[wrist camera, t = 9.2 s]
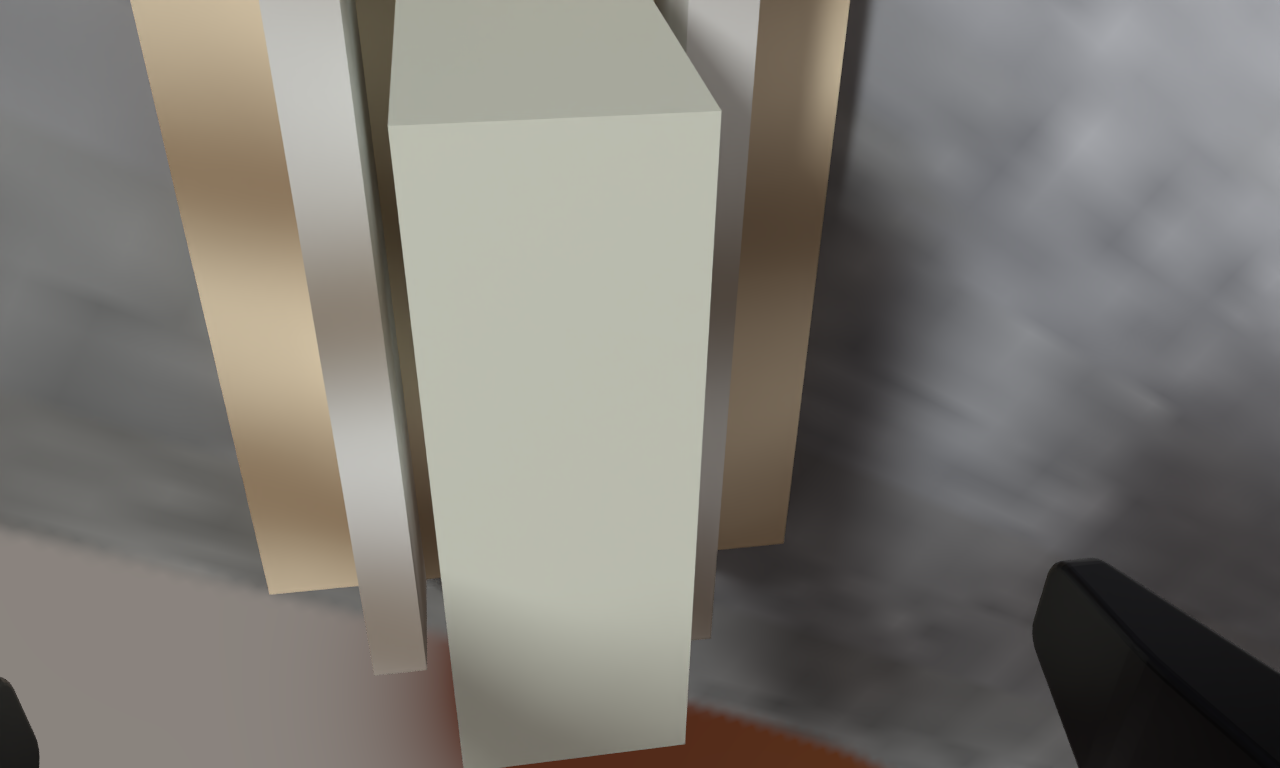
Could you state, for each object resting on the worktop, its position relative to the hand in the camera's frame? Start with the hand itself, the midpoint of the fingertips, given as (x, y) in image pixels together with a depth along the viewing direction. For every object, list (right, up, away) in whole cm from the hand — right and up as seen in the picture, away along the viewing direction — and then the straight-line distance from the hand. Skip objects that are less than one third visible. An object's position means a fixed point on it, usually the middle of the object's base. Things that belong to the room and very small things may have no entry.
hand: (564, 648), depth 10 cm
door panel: (-1, +5, +9) cm, 11 cm away
